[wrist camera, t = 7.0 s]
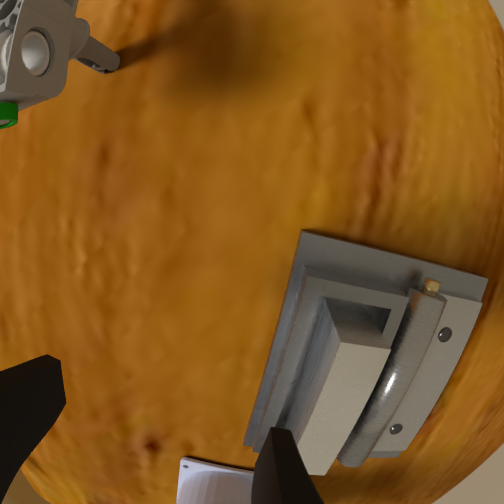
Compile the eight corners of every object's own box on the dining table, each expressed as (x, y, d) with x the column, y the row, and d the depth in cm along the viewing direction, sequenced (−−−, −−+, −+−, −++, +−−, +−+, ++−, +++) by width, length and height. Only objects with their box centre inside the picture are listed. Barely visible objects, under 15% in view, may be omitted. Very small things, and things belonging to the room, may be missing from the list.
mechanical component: (135, -4, 14) (59, -84, 5) (128, 136, 17) (4, 111, 7) (97, 8, 15) (11, -55, 5) (87, 143, 17) (-38, 133, 7)
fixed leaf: (395, 450, 21) (404, 477, 18) (244, 437, 21) (239, 468, 18) (482, 275, 17) (509, 290, 14) (300, 229, 17) (306, 240, 14)
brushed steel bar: (318, 421, 19) (325, 475, 14) (283, 416, 19) (284, 472, 14) (364, 306, 17) (392, 349, 12) (324, 298, 17) (340, 341, 12)
